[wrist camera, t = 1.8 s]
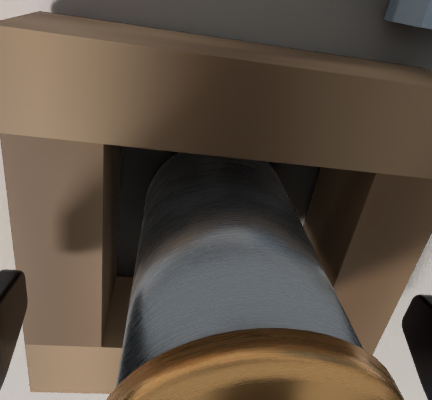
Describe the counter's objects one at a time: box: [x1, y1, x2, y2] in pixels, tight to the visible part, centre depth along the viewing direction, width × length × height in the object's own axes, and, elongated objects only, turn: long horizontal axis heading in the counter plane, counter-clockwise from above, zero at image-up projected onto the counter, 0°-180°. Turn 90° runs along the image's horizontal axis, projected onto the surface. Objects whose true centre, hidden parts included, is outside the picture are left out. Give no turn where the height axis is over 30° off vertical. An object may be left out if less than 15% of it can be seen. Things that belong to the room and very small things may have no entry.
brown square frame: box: [0, 11, 432, 394], centre depth 11 cm, size 10×10×3 cm
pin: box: [107, 152, 404, 400], centre depth 9 cm, size 5×5×8 cm
